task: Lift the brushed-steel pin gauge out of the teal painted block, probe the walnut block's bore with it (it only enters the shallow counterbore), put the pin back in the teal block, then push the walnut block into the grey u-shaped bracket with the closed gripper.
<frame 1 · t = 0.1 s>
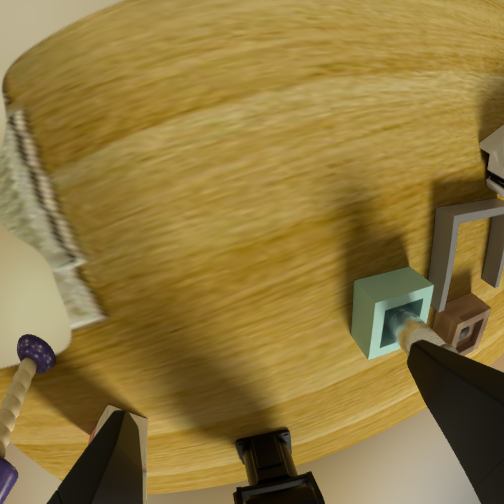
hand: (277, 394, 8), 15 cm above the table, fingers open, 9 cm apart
teal block: (379, 300, 27), on the table, touching steel pin
toy lamp: (37, 352, 23), on the table
ink cartridge box: (117, 427, 28), on the table
walnut block: (449, 319, 30), on the table
grey u-shaped bracket: (464, 251, 26), on the table
steel pin: (384, 305, 26), point 1 cm above the table, touching teal block
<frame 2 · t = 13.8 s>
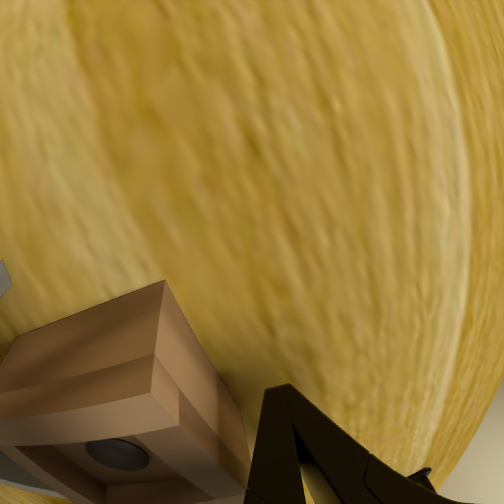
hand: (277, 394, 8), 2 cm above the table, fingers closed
walnut block: (127, 381, 9), on the table, touching gripper
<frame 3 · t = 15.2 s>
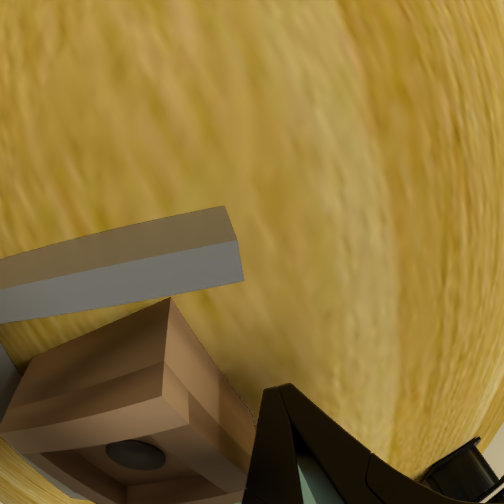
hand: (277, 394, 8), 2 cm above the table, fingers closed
walnut block: (142, 387, 10), on the table, touching gripper
grey u-shaped bracket: (125, 384, 9), on the table
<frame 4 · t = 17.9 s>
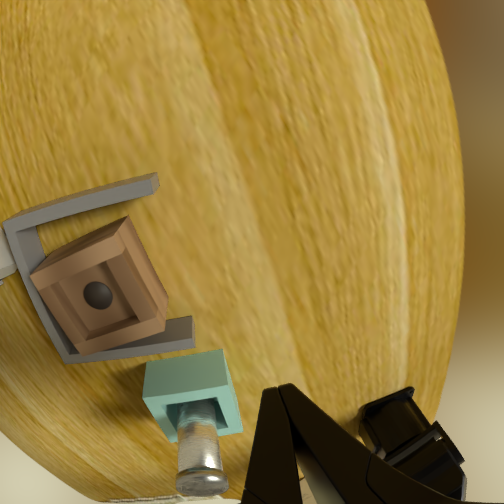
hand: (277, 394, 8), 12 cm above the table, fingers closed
teal block: (193, 380, 23), on the table, touching steel pin
ink cartridge box: (317, 480, 36), on the table
walnut block: (109, 272, 19), on the table
grey u-shaped bracket: (109, 269, 18), on the table
steel pin: (194, 389, 22), point 1 cm above the table, touching teal block
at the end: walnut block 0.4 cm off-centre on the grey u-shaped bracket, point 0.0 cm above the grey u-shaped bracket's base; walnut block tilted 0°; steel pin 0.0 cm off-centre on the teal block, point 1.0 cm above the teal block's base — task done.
